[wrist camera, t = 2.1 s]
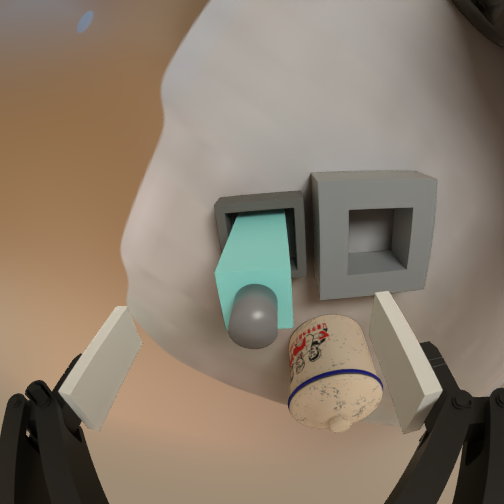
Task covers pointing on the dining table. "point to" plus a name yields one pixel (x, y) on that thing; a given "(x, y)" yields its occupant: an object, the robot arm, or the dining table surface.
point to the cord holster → (264, 203)
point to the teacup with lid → (331, 374)
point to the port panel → (379, 262)
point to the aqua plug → (256, 279)
